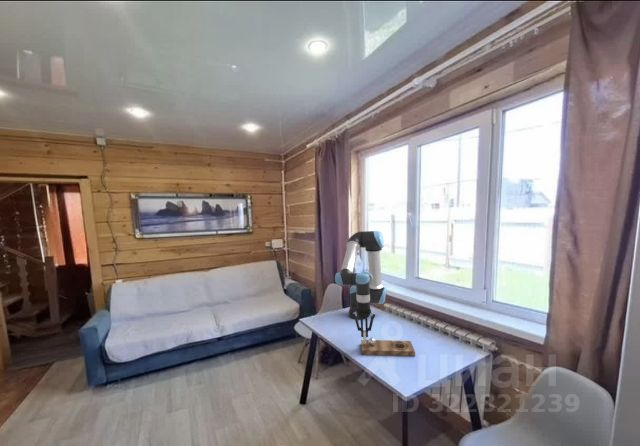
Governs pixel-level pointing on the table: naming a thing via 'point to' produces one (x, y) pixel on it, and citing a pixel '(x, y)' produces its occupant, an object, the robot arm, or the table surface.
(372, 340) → the ball
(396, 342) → the board
